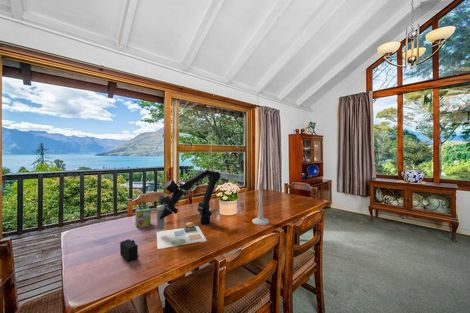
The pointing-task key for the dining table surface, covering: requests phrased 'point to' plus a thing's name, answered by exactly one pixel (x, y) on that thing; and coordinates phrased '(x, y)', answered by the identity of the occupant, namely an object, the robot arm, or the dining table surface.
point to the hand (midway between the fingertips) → (158, 218)
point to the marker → (160, 221)
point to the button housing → (189, 228)
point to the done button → (189, 225)
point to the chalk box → (143, 216)
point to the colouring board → (178, 237)
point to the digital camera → (129, 250)
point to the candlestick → (260, 211)
